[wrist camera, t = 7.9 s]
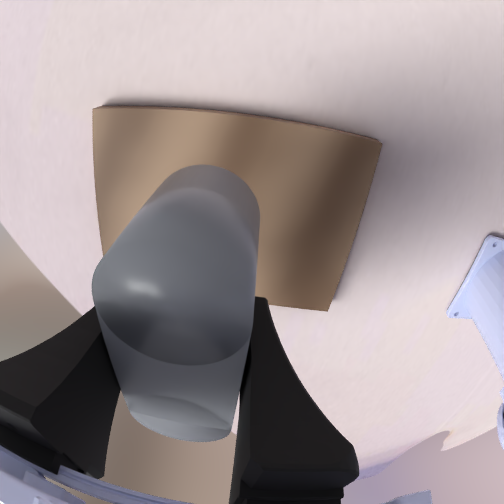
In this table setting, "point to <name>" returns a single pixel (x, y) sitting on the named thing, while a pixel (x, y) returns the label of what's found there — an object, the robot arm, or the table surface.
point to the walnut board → (255, 176)
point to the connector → (183, 302)
